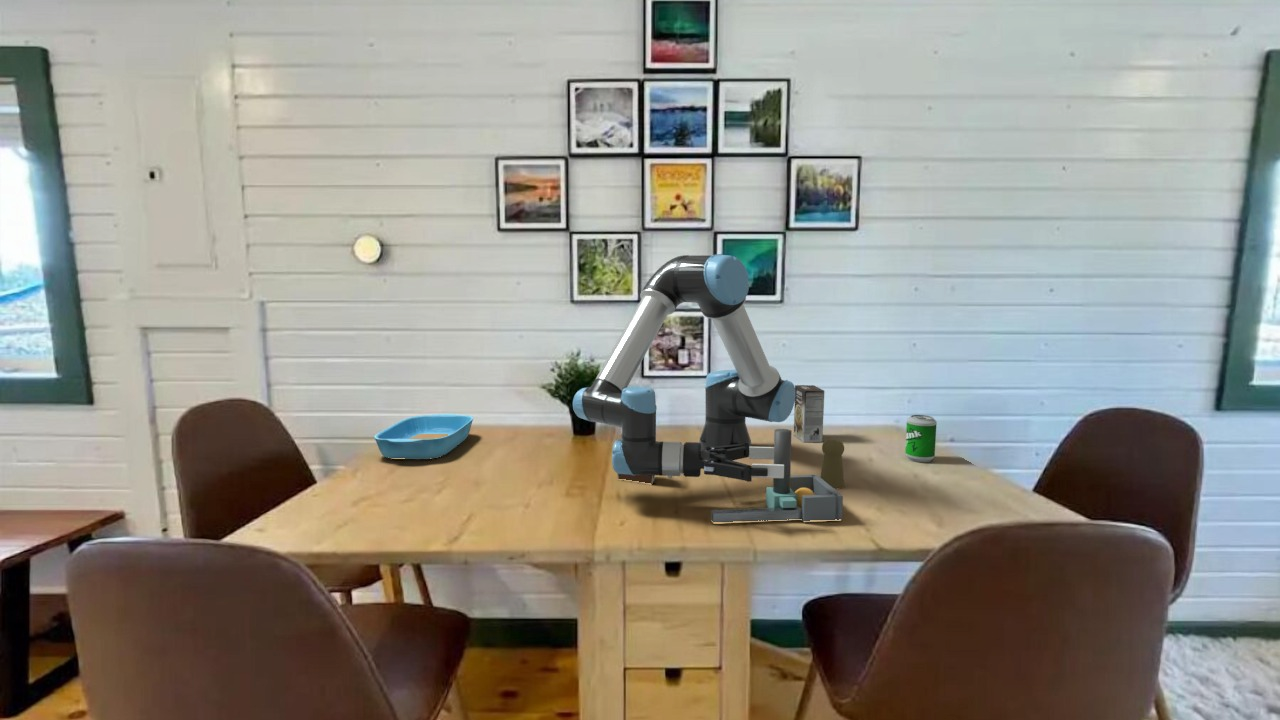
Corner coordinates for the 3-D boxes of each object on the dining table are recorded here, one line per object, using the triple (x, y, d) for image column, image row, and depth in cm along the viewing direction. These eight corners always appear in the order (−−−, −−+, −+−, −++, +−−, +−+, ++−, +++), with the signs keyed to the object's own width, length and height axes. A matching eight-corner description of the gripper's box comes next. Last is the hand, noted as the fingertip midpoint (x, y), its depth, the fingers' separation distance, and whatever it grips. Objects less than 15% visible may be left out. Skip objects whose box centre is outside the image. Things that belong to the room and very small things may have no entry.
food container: (667, 478, 172) (667, 440, 171) (657, 486, 167) (657, 446, 165) (623, 472, 177) (623, 435, 176) (612, 479, 172) (612, 441, 170)
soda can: (929, 456, 192) (931, 414, 190) (938, 463, 184) (940, 420, 183) (901, 455, 192) (903, 413, 191) (909, 463, 185) (911, 419, 183)
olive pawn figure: (815, 481, 170) (816, 438, 168) (839, 480, 170) (840, 437, 169) (824, 489, 164) (825, 444, 162) (848, 488, 164) (850, 443, 163)
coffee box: (792, 435, 215) (794, 385, 213) (812, 434, 216) (814, 384, 214) (802, 442, 206) (804, 390, 204) (823, 442, 207) (825, 389, 205)
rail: (713, 524, 142) (713, 513, 141) (711, 521, 144) (711, 510, 143) (801, 520, 144) (802, 509, 143) (798, 517, 146) (798, 506, 145)
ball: (817, 484, 149) (823, 505, 149) (799, 482, 153) (804, 503, 153) (804, 494, 146) (809, 516, 146) (785, 492, 150) (791, 513, 150)
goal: (803, 523, 142) (804, 497, 141) (781, 498, 157) (781, 475, 156) (842, 521, 143) (842, 496, 142) (816, 497, 158) (816, 474, 157)
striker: (777, 518, 144) (779, 437, 141) (765, 504, 152) (767, 427, 149) (800, 517, 144) (803, 436, 142) (787, 503, 152) (789, 427, 150)
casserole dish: (413, 433, 222) (412, 411, 221) (481, 433, 221) (480, 411, 220) (363, 466, 185) (361, 440, 184) (444, 466, 184) (443, 441, 183)
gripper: (685, 459, 163) (776, 462, 160) (679, 494, 138) (785, 498, 136) (685, 429, 162) (776, 431, 159) (679, 458, 137) (786, 461, 135)
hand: (781, 462), depth 148 cm, fingers open, 13 cm apart
